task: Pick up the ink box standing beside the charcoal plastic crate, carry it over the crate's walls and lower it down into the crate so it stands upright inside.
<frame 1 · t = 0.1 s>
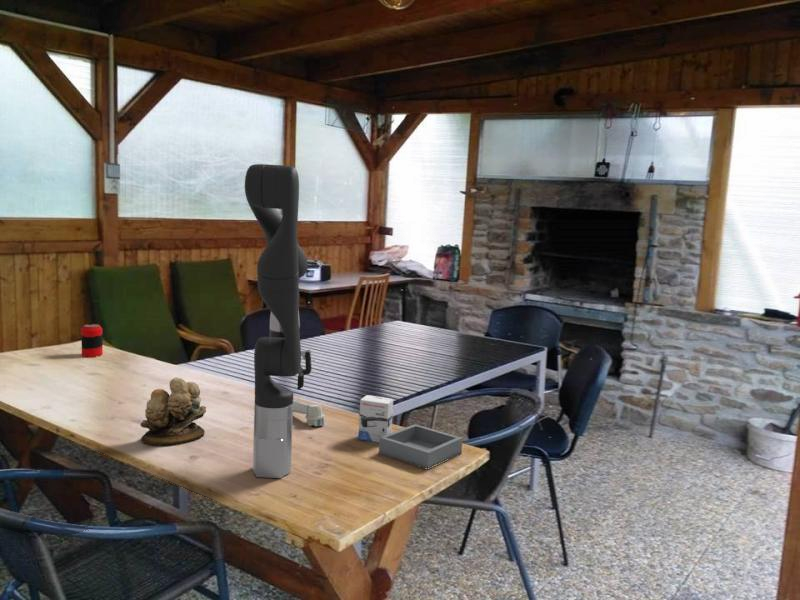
hand: (282, 388, 183), 17 cm above the table, tool pointing down, fingers open, 8 cm apart
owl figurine: (175, 438, 191), on the table
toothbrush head: (296, 417, 215), on the table
soda can: (92, 355, 277), on the table
walled crate: (420, 453, 189), on the table
ink box: (374, 439, 199), on the table
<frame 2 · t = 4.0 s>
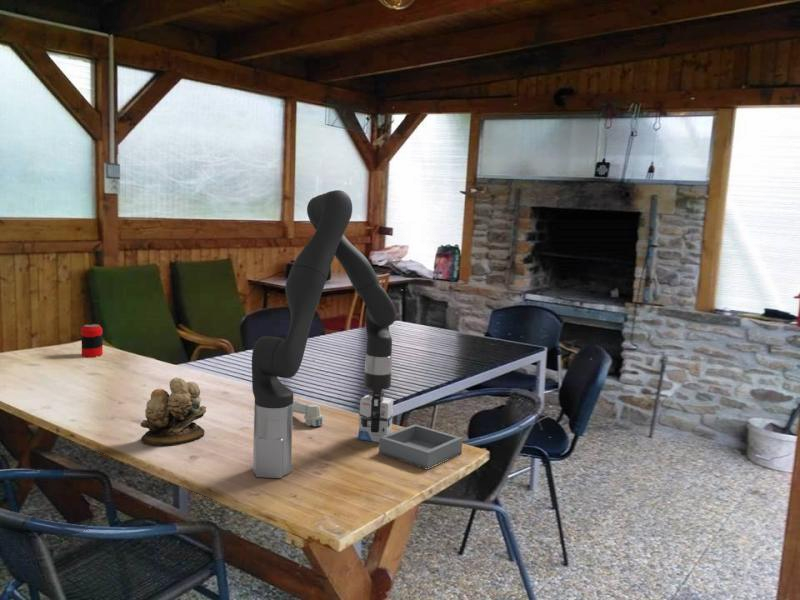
hand: (375, 428, 198), 3 cm above the table, tool pointing down, fingers closed on ink box, 6 cm apart
ink box: (374, 439, 199), on the table, touching gripper
everything else where it was.
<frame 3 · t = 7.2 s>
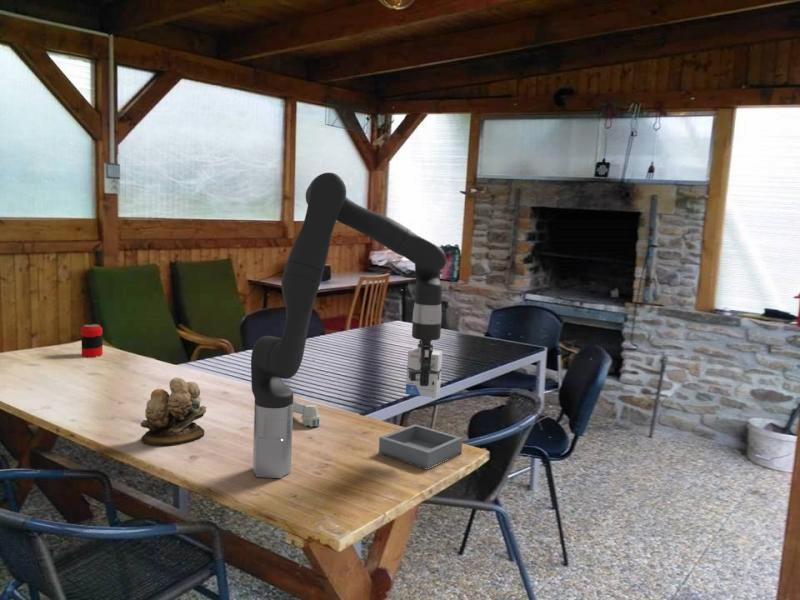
hand: (423, 382, 187), 20 cm above the table, tool pointing down, fingers closed on ink box, 6 cm apart
ink box: (422, 394, 187), point 16 cm above the table, touching gripper
everything else where it was.
when the fingers open (5 cm above the table, at t = 10.3 s): ink box drops 1 cm, resting on walled crate.
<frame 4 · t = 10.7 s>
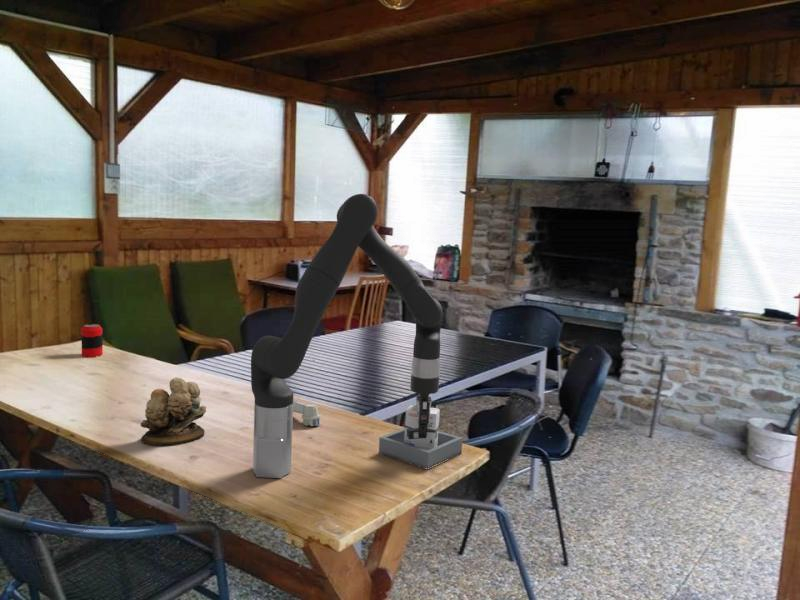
hand: (421, 432, 188), 6 cm above the table, tool pointing down, fingers open, 8 cm apart
ink box: (420, 452, 189), point 1 cm above the table, touching walled crate
everything else where it was.
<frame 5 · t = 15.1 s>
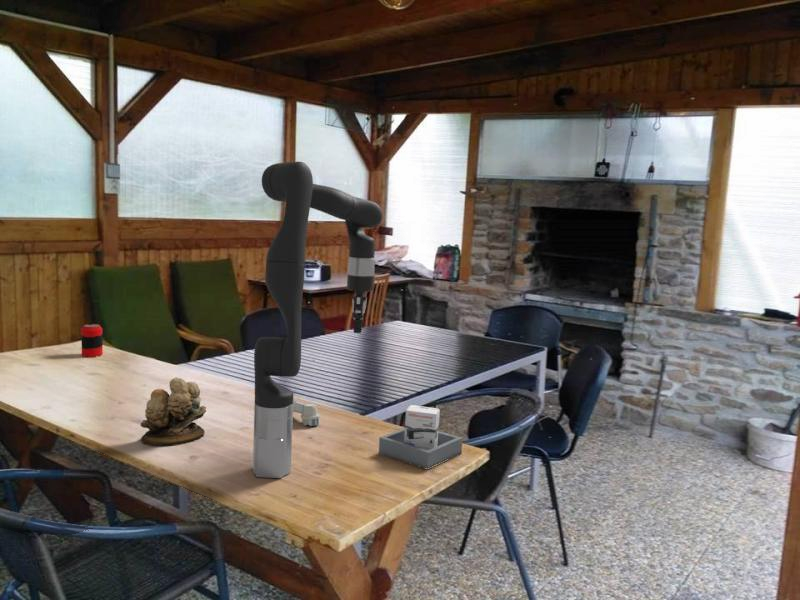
hand: (358, 330, 199), 30 cm above the table, tool pointing down, fingers open, 8 cm apart
at the end: ink box inside the target area on the walled crate (0.4 cm from its centre), point 0.6 cm above the walled crate's base; ink box tilted 0°; the gripper is holding nothing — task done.
